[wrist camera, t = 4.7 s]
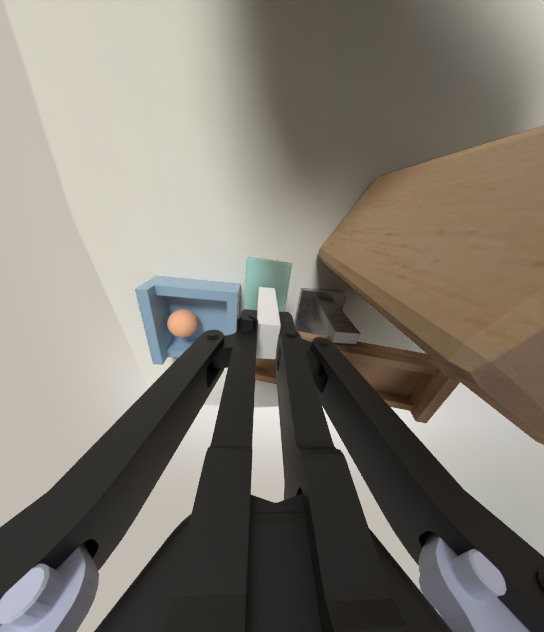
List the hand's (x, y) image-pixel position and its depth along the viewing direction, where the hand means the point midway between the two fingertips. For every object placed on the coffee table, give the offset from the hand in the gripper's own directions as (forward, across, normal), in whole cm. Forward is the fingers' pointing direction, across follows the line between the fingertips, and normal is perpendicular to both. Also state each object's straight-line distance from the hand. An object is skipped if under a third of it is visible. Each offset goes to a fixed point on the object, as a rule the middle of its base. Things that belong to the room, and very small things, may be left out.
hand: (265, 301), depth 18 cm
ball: (+5, -10, -6) cm, 13 cm away
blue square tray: (+7, -8, -6) cm, 13 cm away
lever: (0, +8, -3) cm, 9 cm away
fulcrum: (+7, +8, -6) cm, 13 cm away
